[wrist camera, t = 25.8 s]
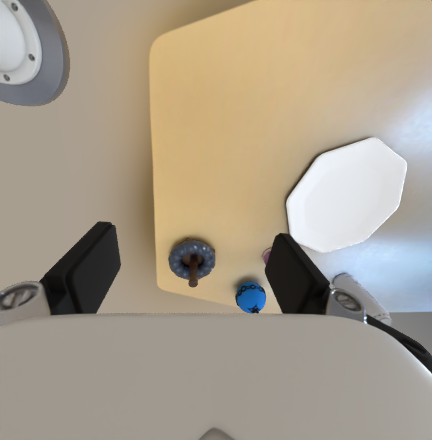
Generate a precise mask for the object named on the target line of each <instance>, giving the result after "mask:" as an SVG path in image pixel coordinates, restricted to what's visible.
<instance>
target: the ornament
mask: <svg viewBox="0 0 432 440" xmlns="http://www.w3.org/2000/svg"><path fill="white" fill-rule="evenodd" d="M235 298H236V303H237V305H238V306H239V307H240V308H241V309H242V310H243V311H245V312H247V313H259V311H260V310H261V309H262V308H263V307H264V305H265V302H266V295H265V291H264V289H263V287H261V286H260V285H258V284H257V283H254V282H246V283H243V284H242V285H241V286H240V287H239V288H238V290H237V293H236V296H235Z"/></svg>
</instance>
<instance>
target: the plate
mask: <svg viewBox="0 0 432 440" xmlns="http://www.w3.org/2000/svg"><path fill="white" fill-rule="evenodd" d="M406 170H407V163H406V161H405V160H404V159H403V158H402V157H400V156H399V155H398V154H397V153H395V152H394V151H393V150H392V149H390V148H389V147H388V146H387V145H385V144H384V143H383V142H382V141H380V140H379V139H378V138H368V139H365V140H362V141H358V142H355V143H352V144H349V145H346V146H343V147H340V148H337V149H334V150H331V151H328V152H325V153H322V154H321V155H319V156H318V157H317V158H316V159H315V160H314V162H313V163H312V165H311V166H310V167H309V169H308V170H307V171H306V173H305V174H304V176H303V177H302V178H301V180H300V181H299V182H298V184H297V185H296V187H295V188H294V189H293V191H292V192H291V194H290V195H289V196H288V198H287V201H286V209H287V217H288V224H289V232H290V235H291V236H292V237H293V239H294V240H295V241H296V242H297V243H299V244H302V245H304V246H306V247H308V248H310V249H313V250H315V251H317V252H319V253H327V252H330V251H334V250H337V249H341V248H344V247H348V246H351V245H355V244H358V243H361V242H363V241H365V240H366V239H367V238H368V237H369V236H370V235H371V234H372V233H373V232H374V231H375V230H376V229H377V228H378V227H379V226H380V225H381V224H383V223H384V222H385V221H386V220H387V219H388V218H389V217H390V216H391V215H392V214H393V213H394V212H395V211H396V210H397V208H398V206H399V204H400V199H401V194H402V189H403V184H404V180H405V175H406Z"/></svg>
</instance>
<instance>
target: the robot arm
mask: <svg viewBox="0 0 432 440" xmlns="http://www.w3.org/2000/svg"><path fill="white" fill-rule="evenodd" d="M34 58H35V59H34ZM41 62H42V49H41V43H40V39H39V36H38V33H37V30H36V28H35V26H34V24H33V21H32V19H31V18H30V16H29V15H28V13H27V11H26V10H25V8H24V7H23V6H22V5H21V3H20V2H19V1H18V0H0V83H4V84H10V85H21V84H25V83H27V82H29V81H31V80H32V79H33V78H34V77H35V76H36V75H37V74H38V72H39V70H40V67H41ZM120 266H121V262H120V255H119V248H118V241H117V234H116V228H115V225H112V223H111V222H97V223H96V224H95V225H94V226H93V227H92V229H90V230H89V231H88V232H87V233H86V234H85V235H84V236H83V237H82V238H81V239H80V240H79V241H78V242H77V243H76V244H75V245H74V246H73V247H72V248H71V249H70V250H69V251H68V252H67V253H66V254H65V255H64V256H63V257H62V258H61V259H60V260H59V261H58V262H57V263H56V264H55V265H54V266H53V267H52V268H51V269H50V270H49V271H48V272H47V273H46V274H45V275H44V277H43V278H42V279H41V280H40V281H39V282H37V281H26V282H21V283H17V284H14V285H12V286H9V287H7V288H5V289H4V290H1V291H0V440H432V356H431V354H430V353H429V352H428V351H427V350H426V349H425V348H424V347H423V346H422V345H421V344H419V343H418V342H417V341H415V340H413V339H412V338H410V337H408V336H406V335H404V334H403V333H401V332H399V331H397V330H395V329H394V328H391V327H390V326H388V325H386V324H384V323H383V322H381V321H379V320H377V319H375V318H373V317H372V316H370V315H368V314H366V309H365V306H364V304H363V303H362V301H361V300H360V299H359V298H358V297H356V296H355V295H354V294H352V293H350V292H349V291H346V290H344V289H340V288H333V289H330V287H329V285H330V282H329V281H328V280H327V279H326V278H325V276H324V275H323V274H322V273H321V271H320V270H319V269H318V268H317V267H316V265H315V264H314V263H313V262H312V260H311V259H310V258H309V257H308V256H307V254H306V253H305V252H304V251H303V250H302V248H301V247H300V246H299V245H298V243H297V242H296V241H295V240H294V239H293V237H292V236H291V235H290V234H285V233H280V234H278V235H277V236H276V237H275V239H274V242H273V246H272V249H271V252H270V255H269V258H268V261H267V264H266V267H265V274H266V277H267V279H268V281H269V283H270V286H271V288H272V290H273V292H274V295H275V297H276V299H277V302H278V304H279V306H280V308H281V311H282V313H283V314H262V313H113V314H112V313H111V314H108V313H107V314H96V313H97V310H98V309H99V307H100V305H101V303H102V301H103V299H104V298H105V295H106V294H107V292H108V290H109V288H110V286H111V284H112V282H113V281H114V279H115V277H116V275H117V273H118V271H119V269H120Z"/></svg>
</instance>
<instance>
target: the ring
mask: <svg viewBox="0 0 432 440" xmlns="http://www.w3.org/2000/svg"><path fill="white" fill-rule="evenodd" d="M191 253H195V254H198V255H201V257H202V258H203V263H202V265H200V266H198V279H200V278H202V277H204V276H206V275H208V274H209V273H210V272H211V271H212V269H213V268H214V266H215V254H214V252H213V251H212V250H211V248H210V247H209V246H208V245H206V244H204V243H202V242H199V241H185V242H183V243H181V244H179V245H177V246H175V247H174V248H173V250H172V252H171V253H170V255H169V258H168V260H169V266H170V269H171V270H172V271H173V272H174V273H175V274H176V275H177V276H178V277H181V278H184V279H187V280H189V267H186V266H184V265H183V264H182V263H181V259H182V257H183V256H185V255H186V254H191Z"/></svg>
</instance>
